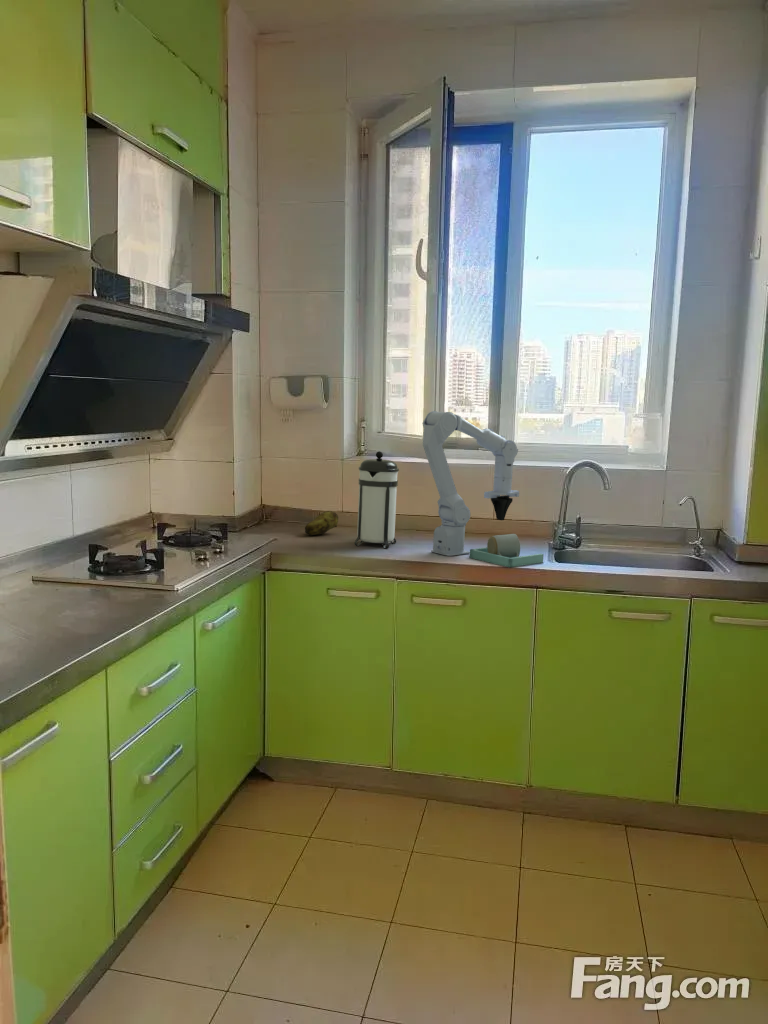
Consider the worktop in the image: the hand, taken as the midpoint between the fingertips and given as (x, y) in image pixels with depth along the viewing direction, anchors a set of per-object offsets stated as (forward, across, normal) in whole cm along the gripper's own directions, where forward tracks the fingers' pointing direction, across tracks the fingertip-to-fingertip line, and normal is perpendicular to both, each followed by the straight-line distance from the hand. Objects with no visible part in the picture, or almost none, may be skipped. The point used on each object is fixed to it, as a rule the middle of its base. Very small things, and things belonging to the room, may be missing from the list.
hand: (500, 519), depth 246 cm
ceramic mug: (+10, -11, -12) cm, 19 cm away
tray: (+10, -10, -12) cm, 18 cm away
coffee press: (+10, -29, +27) cm, 41 cm away
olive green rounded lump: (+10, -35, +49) cm, 61 cm away
